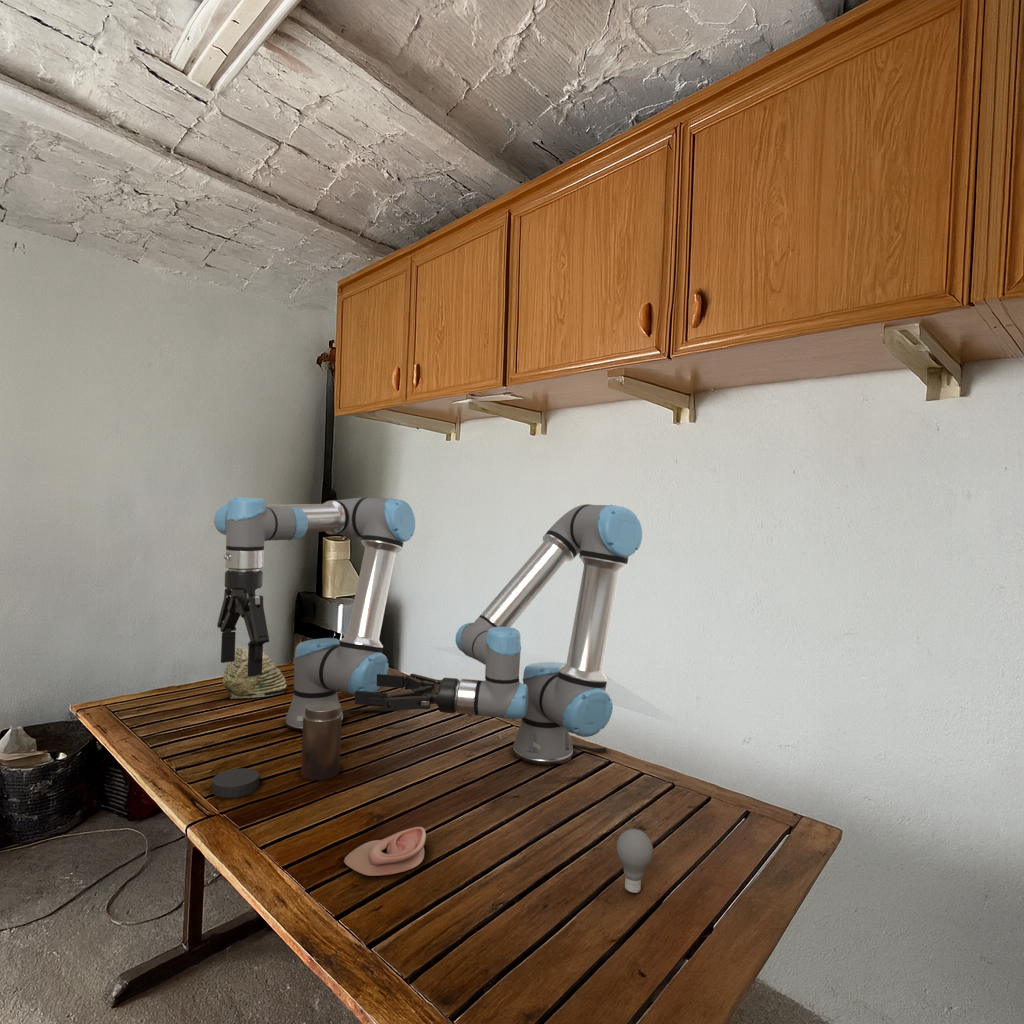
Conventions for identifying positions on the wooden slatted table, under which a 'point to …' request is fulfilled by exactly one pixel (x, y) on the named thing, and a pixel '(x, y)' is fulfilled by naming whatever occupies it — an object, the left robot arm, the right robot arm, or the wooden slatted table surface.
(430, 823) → the wooden slatted table surface
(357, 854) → the anatomical model
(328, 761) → the jar
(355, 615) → the left robot arm
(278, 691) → the fossil
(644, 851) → the light bulb
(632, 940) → the wooden slatted table surface
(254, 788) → the lid
